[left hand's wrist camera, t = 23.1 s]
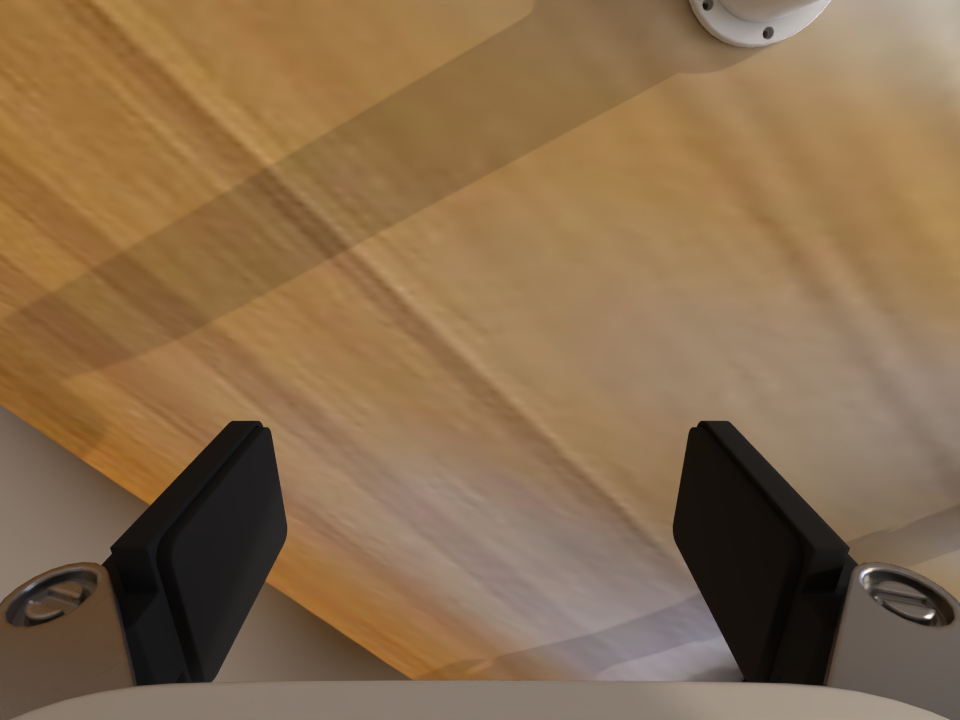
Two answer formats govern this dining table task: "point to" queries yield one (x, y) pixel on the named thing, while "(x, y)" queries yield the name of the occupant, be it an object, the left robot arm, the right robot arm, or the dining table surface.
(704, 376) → the dining table surface
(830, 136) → the dining table surface
